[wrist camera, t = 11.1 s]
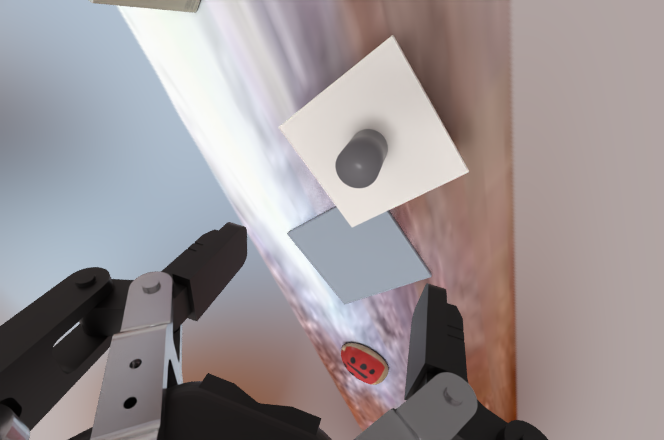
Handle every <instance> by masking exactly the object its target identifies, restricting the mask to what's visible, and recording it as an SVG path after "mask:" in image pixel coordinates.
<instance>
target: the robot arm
mask: <svg viewBox="0 0 664 440" xmlns="http://www.w3.org/2000/svg"><path fill="white" fill-rule="evenodd" d="M246 257H247V230H246V227H244V226H241V225H237V224H234V223H231V222H228V223H226V224H225V225H224V226H223V227H222V228H221V229H220V230H219V231H218V230H212V231H210V232H208V233H206V234H204V235H202V236H201V237H200V238H199V239H198V240H197V241H195V243H194V244H192V245H191V246H190V247H189V248H188V250H187V249H186V250H185V251H184V252H183V253H182V254H181V255H179V257H177V258H176V259H175V260H174V261H173V262H172V263H171V264H169V265H168V266H167V267H166V268H165V269H164V270H162V271H161V272H149V273H146V274H143V275H141V276H140V277H138V278H136V279H135V280H119V279H111V277H110V274H109V272H108V271H107V270H106V269H103V268H99V267H93V268H86V269H82V270H79V271H77V272H75V273H73V274H71V275H70V276H68V277H67V278H66V279H64V280H63V281H62V282H60V283H59V284H57V285H56V286H55V287H53V288H52V289H51V290H50V291H48V292H46V293H45V294H44V295H42V296H41V297H40V298H38V299H37V300H36V301H34V302H33V303H31V304H30V305H29V306H28V307H26V308H25V309H23V310H22V311H20V312H19V313H18V314H16V315H15V316H14V317H12V318H11V319H10V320H8V321H7V322H5V323H4V324H3V325H1V326H0V440H29V438H30V431H31V430H32V429H33V428H34V426H35V425H36V424H37V423H38V422H39V421H40V420H41V419H42V418H43V417H44V416H45V415H46V414H47V413H48V412H49V411H50V410H51V409H52V407H53V406H54V405H55V404H56V403H57V402H58V401H59V400H60V399H61V398H62V397H63V396H64V395H65V394H66V393H67V391H69V389H70V388H71V387H72V386H73V385H74V384H75V383H76V382H77V381H78V380H79V379H80V378H81V377H82V376H83V375H84V374H85V373H86V372H87V371H88V369H89V368H90V367H91V366H92V365H93V364H94V363H95V362H96V361H97V360H98V359H99V358H100V357H101V356H102V355H103V354H104V353H105V352H106V350H107V349H108V348H109V347H110V350H109V354H108V359H107V364H106V368H105V373H104V378H103V382H102V387H101V392H100V396H99V401H98V406H97V411H96V415H95V420H94V424H93V427H92V428H90V429H88V430H86V431H84V432H82V433H80V434H78V435H76V436H74V437H72V438H70V439H68V440H331V438H330V437H329V436H328V435H327V434H326V433H325V432H324V431H323V430H321V429H320V428H319V425H320V421H321V418H319V417H317V416H314V415H312V414H309V413H307V412H304V411H301V410H299V409H296V408H294V407H290V406H279V405H270V404H260V403H258V402H256V401H255V400H254V399H253V398H251V397H250V396H249V395H248V394H246V393H245V392H244V391H243V390H241V389H240V388H239V387H238V386H237V385H235V384H234V383H231V382H229V381H226V380H224V379H221V378H219V377H216V376H214V375H211V374H209V373H208V374H207V375H206V377H205V378H204V380H203V381H201V382H200V381H197V382H187V383H183V379H182V323H183V322H184V321H185V320H186V319H187V318H189V319H192V320H195V321H198V319H199V318H200V317H201V316H202V315H203V313H204V312H205V311H206V310H207V308H208V307H209V306H210V305H211V303H212V302H213V301H214V300H215V299H216V297H217V296H218V295H219V294H220V293H221V291H222V290H223V289H224V288H225V287H226V285H227V284H228V283H229V282H230V281H231V279H232V278H233V277H234V276H235V274H236V273H237V272H238V271H239V270H240V268H241V267H242V266H243V264H244V262H245V260H246ZM77 322H80V324H79V325H78V326H77V327H76V328H74V329H73V330H72V331H71V332H70V333H69V334H68V335H67V336H65V337H64V338H63V339H62V340H61V341H60V342H59V343H58V344H57V345H55V346H54V344H55V343H56V341H57V340H58V339H59V338H60V337H61V336H63V335H64V334H65V333H66V332H67V331H68V330H69V329H71V328H72V327H73V326H74V325H75V324H76V323H77ZM53 346H54V347H53ZM404 400H407V401H406V402H404V403H403V404H402V405H401V406H400V407H398V408H397V409H394V408H393V409H391V410H389V411H388V412H386V413H385V414H384V415H383V416H381V417H380V418H379V419H378V420H377V421H375V422H374V423H373V424H372V425H371V426H369V427H368V428H367V429H366V430H365V431H363V432H362V433H361V434H360V435H359V436H357V437H356V438H355V439H354V440H548V439H547V438H546V436H545V435H544V434H542V432H541V431H540V430H538V429H537V428H536V427H534V426H533V425H531V424H529V423H527V422H524V421H520V420H514V421H511V422H509V423H507V422H505V421H504V420H502V419H501V418H500V417H498V416H497V415H495V414H494V413H492V412H491V411H489V410H488V409H487V408H485V407H484V406H483V405H482V404H481V403H480V402H479V401H478V400H477V398H476V395H475V393H474V391H473V389H472V388H471V386H470V385H469V384H468V379H467V368H466V355H465V343H464V332H463V318H462V316H461V314H460V312H459V310H458V308H457V306H454V305H451V304H448V303H447V293H446V289H444V288H441V287H437V286H434V285H431V284H428V283H427V284H426V285H425V288H424V290H423V292H422V294H421V296H420V299H419V301H418V303H417V305H416V308H415V310H414V314H413V318H412V324H411V334H410V345H409V356H408V366H407V377H406V387H405V398H404Z"/></svg>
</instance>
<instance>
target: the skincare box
mask: <svg viewBox="0 0 664 440" xmlns="http://www.w3.org/2000/svg"><path fill="white" fill-rule="evenodd" d="M89 1H90V2H92V3H99V4H110V5H119V6H130V7H141V8H152V9H162V10H173V11H183V12H194V13H195V12H196V11H197V8H198V5H199V3H200V0H89Z"/></svg>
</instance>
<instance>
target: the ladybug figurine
mask: <svg viewBox="0 0 664 440" xmlns="http://www.w3.org/2000/svg"><path fill="white" fill-rule="evenodd" d="M341 357H342V361H343V363H344V365H345V367H346V368H347V370H348V371H349V372H350V373H351V374H352V375H353V376H355V377H356V378H357V379H359V380H361V381H363V382H366V383H368V384H373V385H376V384H379V383H381V382H382V381H383V380H384V379H385V378H386V376H387V374H388V366H387V364H386V362H385V361H384V360H383V359H382V358H381V357H380V356H379V355H378V354H377V353H376V352H374V351H373V350H371V349H369V348H367V347H365V346H363V345H360V344H356V343H348V344H345V345H343V346H342V349H341Z"/></svg>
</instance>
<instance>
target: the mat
mask: <svg viewBox="0 0 664 440" xmlns="http://www.w3.org/2000/svg"><path fill="white" fill-rule="evenodd" d="M287 234H288V236H289V237H290V238H291V239H292V241H293V242H294V243H295V244H296V245H297V247H298V248H299V249H300V250H301V252H302V253H303V254H304V255H305V256H306V258H307V259H308V260H309V261H310V263H311V264H312V265H313V266H314V268H315V269H316V270H317V271H318V272H319V274H320V275H321V276H322V277H323V279H324V280H325V281H326V282H327V284H328V285H329V286H330V287H331V288H332V290H333V291H334V292H335V293H336V295H337V296H338V297H339V298H340V299H341V301H342V302H343V303H344V304H348V303H351V302H354V301H357V300H360V299H363V298H367V297H370V296H373V295H376V294H379V293H382V292H385V291H388V290H392V289H395V288H398V287H401V286H404V285H407V284H410V283H413V282H417V281H420V280H423V279H426V278H429V277H431V275H432V274H431V272H430V271H429V269H428V268H427V266H426V265H425V263H424V262H423V260H422V259H421V258H420V256H419V255H418V253H417V252H416V250H415V249H414V247H413V246H412V244H411V243H410V241H409V240H408V238H407V237H406V235H405V234H404V232H403V231H402V229H401V228H400V226H399V225H398V223H397V222H396V221H395V219H394V218H393V216H392V215H391V213H390V212H389V210H388V211H386V212H384V213H382V214H380V215H378V216H376V217H373V218H371V219H369V220H367V221H365V222H363V223H361V224H359V225H357V226H354V227H351V226H350V224H349V223H348V222H347V220H346V219H345V218H344V216H343V215H342V214H341V212H340V211H339V209H338V208H337V207H334V208H332V209H330V210H328V211H326V212H324V213H323V214H321V215H319V216H317V217H315V218H313V219H311V220H310V221H308V222H306V223H304V224H302V225H300V226H298V227H297V228H295V229H293V230H291V231H289V232H288V233H287Z"/></svg>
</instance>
